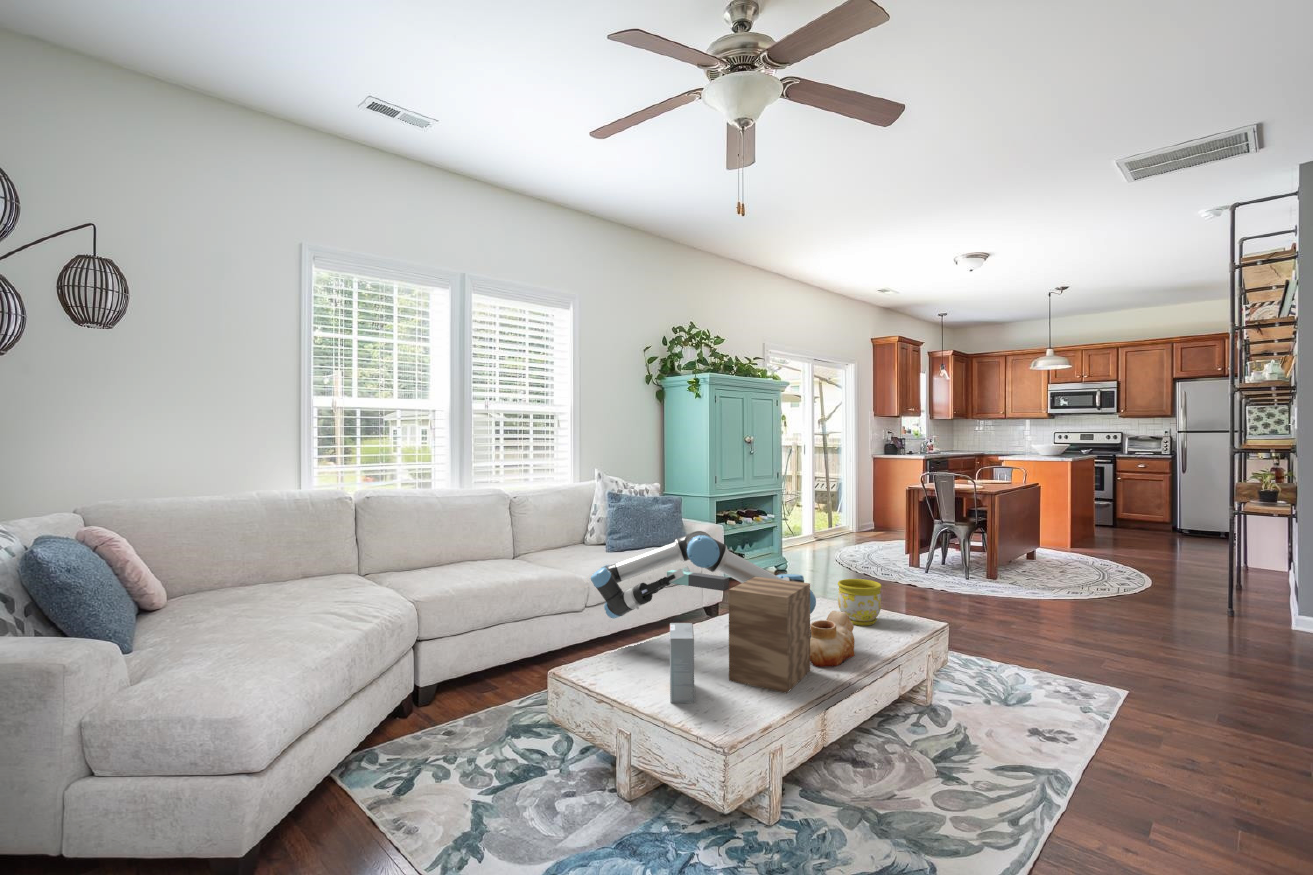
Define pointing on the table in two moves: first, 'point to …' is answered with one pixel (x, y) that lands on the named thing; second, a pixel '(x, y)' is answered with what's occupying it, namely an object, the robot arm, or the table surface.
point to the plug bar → (702, 580)
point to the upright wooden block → (769, 633)
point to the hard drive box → (681, 663)
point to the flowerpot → (860, 600)
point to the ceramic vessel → (831, 640)
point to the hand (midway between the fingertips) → (685, 570)
